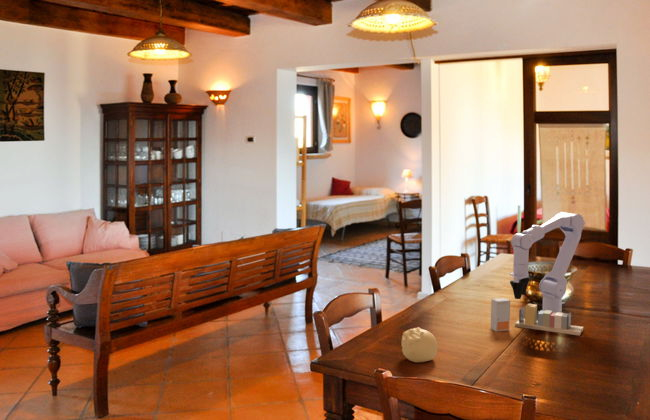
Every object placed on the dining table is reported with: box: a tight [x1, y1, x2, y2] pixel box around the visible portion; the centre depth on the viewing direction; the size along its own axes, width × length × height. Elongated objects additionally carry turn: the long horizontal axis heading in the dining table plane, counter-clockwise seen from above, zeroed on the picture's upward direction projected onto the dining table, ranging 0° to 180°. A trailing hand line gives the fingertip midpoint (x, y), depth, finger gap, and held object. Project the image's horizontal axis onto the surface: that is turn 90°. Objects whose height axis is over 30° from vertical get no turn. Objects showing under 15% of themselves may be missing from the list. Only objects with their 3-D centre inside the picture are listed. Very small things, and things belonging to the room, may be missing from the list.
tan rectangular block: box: [524, 303, 538, 325], centre depth 249 cm, size 4×4×7 cm
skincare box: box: [490, 297, 511, 332], centre depth 244 cm, size 6×4×12 cm
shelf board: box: [514, 318, 584, 336], centre depth 246 cm, size 8×24×1 cm, turn 59°
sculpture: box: [400, 326, 438, 363], centre depth 213 cm, size 12×12×11 cm
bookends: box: [518, 306, 572, 330], centre depth 247 cm, size 5×18×5 cm, turn 59°
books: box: [537, 309, 569, 329], centre depth 245 cm, size 5×11×5 cm, turn 60°
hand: (520, 296), depth 254 cm, fingers open, 7 cm apart
